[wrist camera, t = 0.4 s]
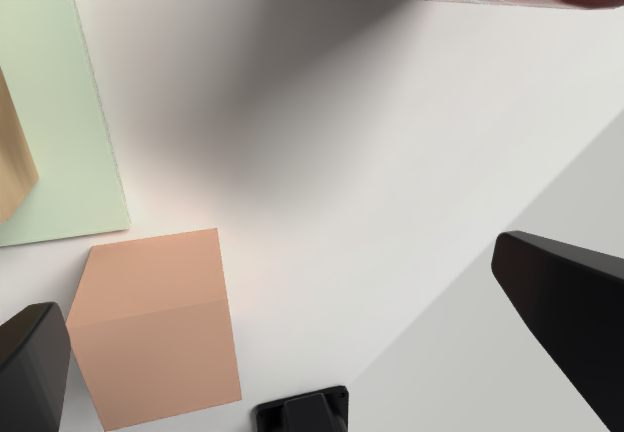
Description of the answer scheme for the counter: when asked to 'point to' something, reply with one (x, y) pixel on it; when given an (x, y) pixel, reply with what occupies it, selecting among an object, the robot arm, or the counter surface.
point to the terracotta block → (154, 329)
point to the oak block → (13, 157)
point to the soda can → (549, 3)
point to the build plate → (58, 126)
